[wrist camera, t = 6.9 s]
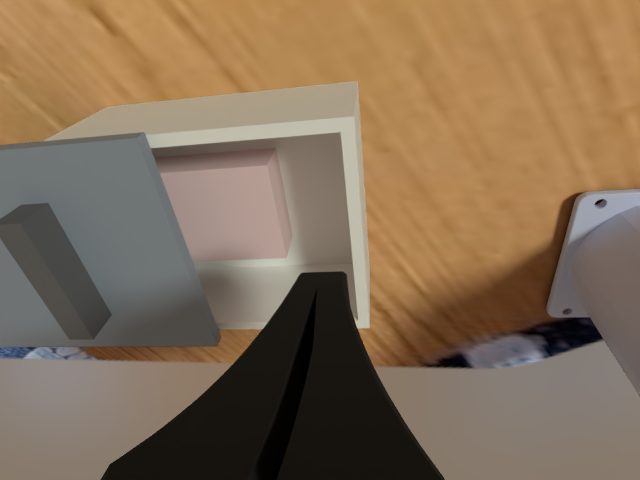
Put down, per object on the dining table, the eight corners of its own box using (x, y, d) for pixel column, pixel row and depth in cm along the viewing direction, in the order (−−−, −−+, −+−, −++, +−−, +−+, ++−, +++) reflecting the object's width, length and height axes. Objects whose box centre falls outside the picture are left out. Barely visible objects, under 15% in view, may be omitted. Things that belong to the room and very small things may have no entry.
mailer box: (357, 80, 17) (354, 116, 13) (369, 263, 23) (369, 328, 19) (107, 106, 19) (35, 144, 15) (174, 269, 25) (135, 330, 20)
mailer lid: (144, 132, 14) (112, 155, 12) (221, 336, 20) (206, 372, 18) (-144, 158, 16) (-206, 181, 14) (3, 338, 22) (-29, 370, 20)
